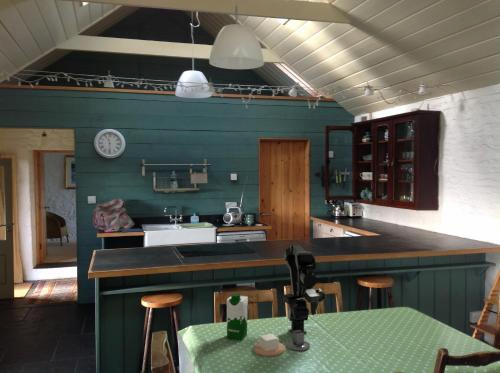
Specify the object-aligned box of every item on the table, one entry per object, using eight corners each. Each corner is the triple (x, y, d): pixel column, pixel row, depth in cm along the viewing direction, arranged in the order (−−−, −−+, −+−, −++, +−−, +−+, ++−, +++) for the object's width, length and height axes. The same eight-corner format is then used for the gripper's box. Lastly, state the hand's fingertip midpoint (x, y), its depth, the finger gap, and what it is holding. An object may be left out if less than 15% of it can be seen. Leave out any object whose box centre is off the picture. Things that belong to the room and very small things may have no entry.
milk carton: (224, 339, 193) (224, 295, 192) (231, 332, 202) (232, 289, 201) (242, 342, 191) (243, 297, 190) (249, 334, 199) (249, 291, 198)
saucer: (248, 346, 186) (248, 343, 186) (275, 341, 191) (275, 339, 191) (261, 358, 174) (262, 355, 174) (290, 353, 180) (290, 350, 179)
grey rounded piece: (282, 344, 189) (282, 329, 188) (302, 340, 193) (302, 326, 193) (293, 353, 180) (294, 337, 179) (314, 349, 184) (314, 334, 184)
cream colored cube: (259, 345, 184) (259, 335, 184) (272, 343, 187) (272, 333, 186) (266, 351, 179) (266, 340, 178) (278, 348, 181) (278, 338, 181)
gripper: (295, 288, 177) (294, 325, 178) (333, 283, 185) (332, 319, 186) (282, 281, 187) (281, 317, 188) (318, 277, 195) (318, 311, 196)
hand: (303, 316), depth 189 cm, fingers open, 9 cm apart
